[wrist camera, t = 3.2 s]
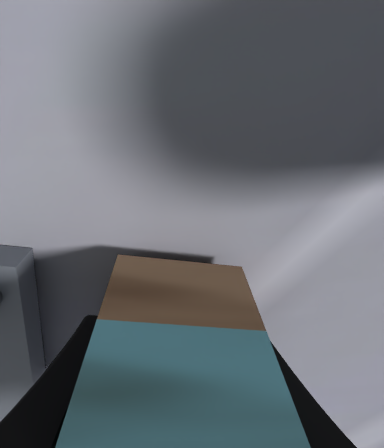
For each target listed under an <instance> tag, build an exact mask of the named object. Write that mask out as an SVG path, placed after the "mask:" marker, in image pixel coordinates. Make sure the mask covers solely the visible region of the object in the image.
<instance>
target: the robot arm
mask: <svg viewBox="0 0 384 448" xmlns="http://www.w3.org/2000/svg"><path fill="white" fill-rule="evenodd" d="M97 317H98V316H96V315H88V316H86V317H85V318H84V319H83V321H82V322H81V324H80V325H79V327H78V328H77V330H76V331H75V333H74V334H73V335H72V337H71V338H70V340H69V341H68V342H67V344H66V345H65V346H64V348H63V349H62V350H61V352H60V353H59V354H58V355H57V357H56V358H55V359H54V360H53V362H52V363H51V364H50V365H49V367H48V368H47V369H46V370H45V372H44V373H43V374H42V375H41V377H40V378H39V379H38V380H37V381H36V382H35V384H34V385H33V386H32V387H31V388H30V389H29V390H28V392H27V393H26V394H25V395H24V396H23V397H22V398H21V400H20V401H19V402H18V403H17V404H16V405H15V406H14V407H13V409H12V410H11V411H10V412H9V413H8V414H7V415H6V416H5V417H4V418H3V419H2V420H1V422H0V448H55V447H56V444H57V440H58V437H59V434H60V431H61V428H62V425H63V422H64V419H65V416H66V413H67V410H68V407H69V403H70V400H71V397H72V394H73V391H74V388H75V385H76V382H77V379H78V376H79V373H80V370H81V367H82V363H83V360H84V357H85V354H86V351H87V348H88V345H89V342H90V339H91V336H92V333H93V330H94V326H95V323H96V320H97ZM270 342H271V341H270ZM271 345H272V348H273V350H274V353H275V355H276V358H277V361H278V363H279V366H280V369H281V371H282V374H283V376H284V379H285V382H286V384H287V387H288V389H289V392H290V395H291V397H292V400H293V403H294V405H295V408H296V410H297V413H298V416H299V418H300V421H301V424H302V426H303V429H304V431H305V434H306V437H307V439H308V442H309V445H310V447H311V448H357V447H356V446H355V445H354V444H353V443H352V442H351V441H350V440H349V439H348V438H347V437H346V436H345V434H344V433H343V432H342V431H341V430H340V429H339V428H338V427H337V425H336V424H335V423H334V422H333V421H332V420H331V418H330V417H329V416H328V415H327V414H326V412H325V411H324V410H323V409H322V408H321V407H320V405H319V404H318V403H317V402H316V400H315V399H314V398H313V397H312V396H311V394H310V393H309V392H308V390H307V389H306V388H305V387H304V385H303V384H302V383H301V382H300V380H299V379H298V378H297V376H296V375H295V374H294V372H293V371H292V370H291V368H290V367H289V366H288V365H287V363H286V362H285V360H284V359H283V358H282V356H281V355H280V354H279V352H278V351H277V350H276V348H275V347H274V345H273V344H272V343H271Z"/></svg>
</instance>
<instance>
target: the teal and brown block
mask: <svg viewBox="0 0 384 448" xmlns="http://www.w3.org/2000/svg"><path fill="white" fill-rule="evenodd" d="M55 448H311V447H310V445H309V442H308V439H307V437H306V434H305V431H304V429H303V426H302V424H301V421H300V418H299V416H298V413H297V410H296V408H295V405H294V403H293V400H292V397H291V395H290V392H289V389H288V387H287V384H286V382H285V379H284V376H283V374H282V371H281V369H280V366H279V363H278V361H277V358H276V355H275V353H274V350H273V348H272V345H271V342H270V340H269V337H268V334H267V332H266V329H265V327H264V324H263V321H262V319H261V316H260V313H259V311H258V308H257V306H256V303H255V300H254V298H253V295H252V292H251V290H250V287H249V285H248V282H247V279H246V277H245V274H244V271H243V269H242V267H239V266H229V265H219V264H209V263H198V262H188V261H178V260H168V259H158V258H148V257H138V256H128V255H118V256H117V259H116V262H115V265H114V268H113V271H112V274H111V277H110V280H109V283H108V286H107V290H106V293H105V296H104V299H103V302H102V305H101V308H100V311H99V314H98V317H97V320H96V323H95V326H94V330H93V333H92V336H91V339H90V342H89V345H88V348H87V351H86V354H85V357H84V360H83V363H82V367H81V370H80V373H79V376H78V379H77V382H76V385H75V388H74V391H73V394H72V397H71V400H70V403H69V407H68V410H67V413H66V416H65V419H64V422H63V425H62V428H61V431H60V434H59V437H58V440H57V444H56V447H55Z"/></svg>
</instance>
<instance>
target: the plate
mask: <svg viewBox="0 0 384 448" xmlns="http://www.w3.org/2000/svg"><path fill="white" fill-rule="evenodd" d="M45 370H46V368H45V359H44V350H43V341H42V332H41V323H40V314H39V305H38V295H37V286H36V277H35V268H34V259H33V250H32V248H25V247H14V246H4V245H0V422H1V420H2V419H3V418H4V417H5V416H6V415H7V414H8V413H9V412H10V411H11V410H12V409H13V407H14V406H15V405H16V404H17V403H18V402H19V401H20V400H21V398H22V397H23V396H24V395H25V394H26V393H27V392H28V390H29V389H30V388H31V387H32V386H33V385H34V384H35V382H36V381H37V380H38V379H39V378H40V377H41V375H42V374H43V373H44V372H45Z"/></svg>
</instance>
